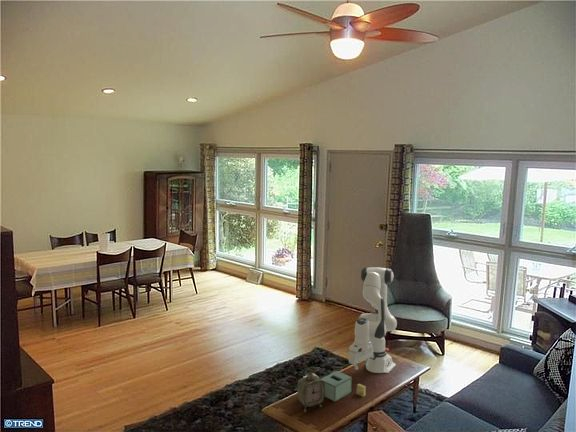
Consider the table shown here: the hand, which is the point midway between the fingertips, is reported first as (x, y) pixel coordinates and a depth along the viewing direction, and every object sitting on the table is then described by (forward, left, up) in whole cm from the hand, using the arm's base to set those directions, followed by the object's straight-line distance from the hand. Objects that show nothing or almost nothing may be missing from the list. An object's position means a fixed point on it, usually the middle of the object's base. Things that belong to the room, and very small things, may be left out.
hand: (361, 367), depth 278 cm
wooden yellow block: (0, 0, -18) cm, 18 cm away
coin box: (+10, -12, -18) cm, 24 cm away
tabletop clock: (+33, -12, -18) cm, 39 cm away
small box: (+24, -20, -18) cm, 36 cm away
